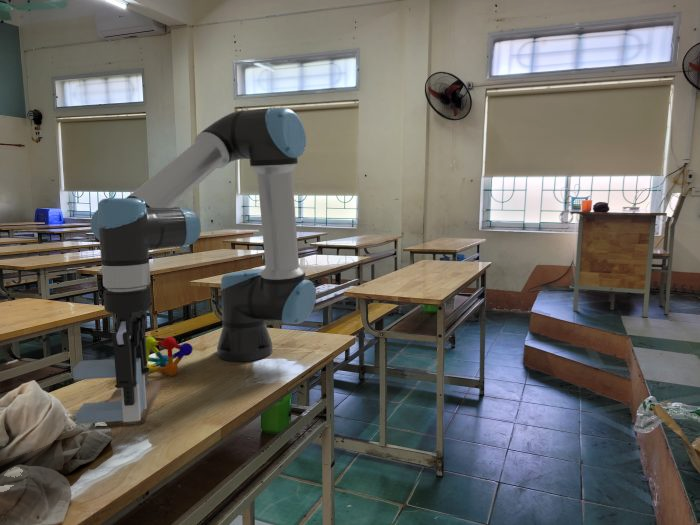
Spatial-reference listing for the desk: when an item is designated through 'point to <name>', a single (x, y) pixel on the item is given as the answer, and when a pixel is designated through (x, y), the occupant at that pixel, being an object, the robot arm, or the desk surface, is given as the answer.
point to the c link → (102, 409)
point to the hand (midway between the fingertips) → (135, 414)
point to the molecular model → (166, 360)
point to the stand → (151, 395)
